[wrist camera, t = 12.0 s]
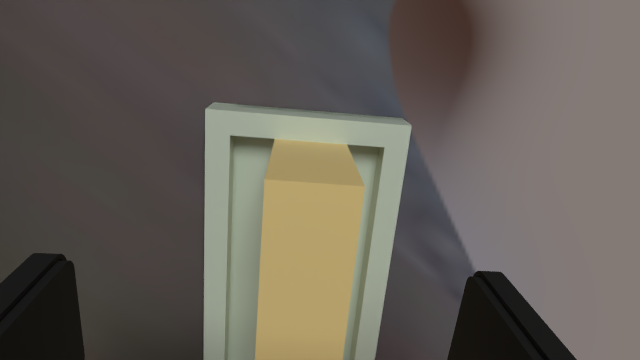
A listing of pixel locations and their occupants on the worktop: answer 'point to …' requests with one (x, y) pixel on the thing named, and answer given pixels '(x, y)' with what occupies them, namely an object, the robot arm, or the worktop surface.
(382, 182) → the tray
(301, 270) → the tan wooden brick
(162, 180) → the worktop surface
